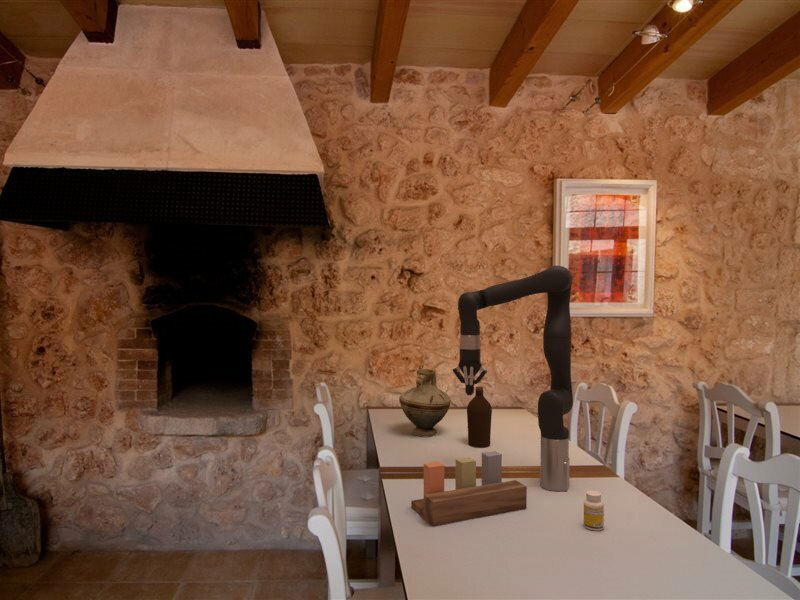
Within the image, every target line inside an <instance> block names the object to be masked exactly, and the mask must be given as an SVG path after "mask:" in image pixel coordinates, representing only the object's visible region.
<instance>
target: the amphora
mask: <svg viewBox="0 0 800 600" xmlns="http://www.w3.org/2000/svg"><path fill="white" fill-rule="evenodd" d="M415 385H416V386H413V387H410V388H409V389H406V390H404V391H403V392H402V393H401V394H400V396H399V397H398V398H399V399H398V400H399V404H400V408H401V410H402V412H403V414H404V415H405V416H406V418H407V420H409V421H410V423H412V425H414V426H415V427H414V428H413V429H412V434H413V435H414V434H415V435H414V436H417V435H418V437H423V436H428V437H434V436H436V434H437V430H436V428H435V426H436V425H438V423H440V422H441V421H442V420H443V419H444V418H445V416H446V415H447V413H448V411H449V408H450V405H451V397H450V396H449V394H448V393H446V392H444V391H443V390H441V389H440V388H439V387H438V385H437V373H436V370H433V369H430V368H422V369H421V368H420V369H418V370H417V371H416V378H415ZM433 435H434V436H433Z"/></svg>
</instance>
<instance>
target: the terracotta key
mask: <svg viewBox="0 0 800 600" xmlns="http://www.w3.org/2000/svg"><path fill="white" fill-rule="evenodd" d="M444 491H445V464H443V463H441V462H440V461H432V462H425V463H423V496H424V495H426V494H432V493H438V492H444Z"/></svg>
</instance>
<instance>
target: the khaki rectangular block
mask: <svg viewBox="0 0 800 600" xmlns="http://www.w3.org/2000/svg"><path fill="white" fill-rule="evenodd" d="M454 483H455V488H454V490H457V489H463V488H469V487H475V486H477V460H475V459H474V458H472V457H462V458H461V457H460V458H455V481H454Z"/></svg>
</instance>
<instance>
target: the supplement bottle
mask: <svg viewBox="0 0 800 600" xmlns="http://www.w3.org/2000/svg"><path fill="white" fill-rule="evenodd" d="M585 495H586V496H585V497H586V498H585V499H584V500H583V526H584V528H585V529H588V530H590V531H603V530H604V528H605V507H604V506H605V504H604V501H603V500H602V493H601V492H600V491H597V490H587V491H586V494H585Z"/></svg>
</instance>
